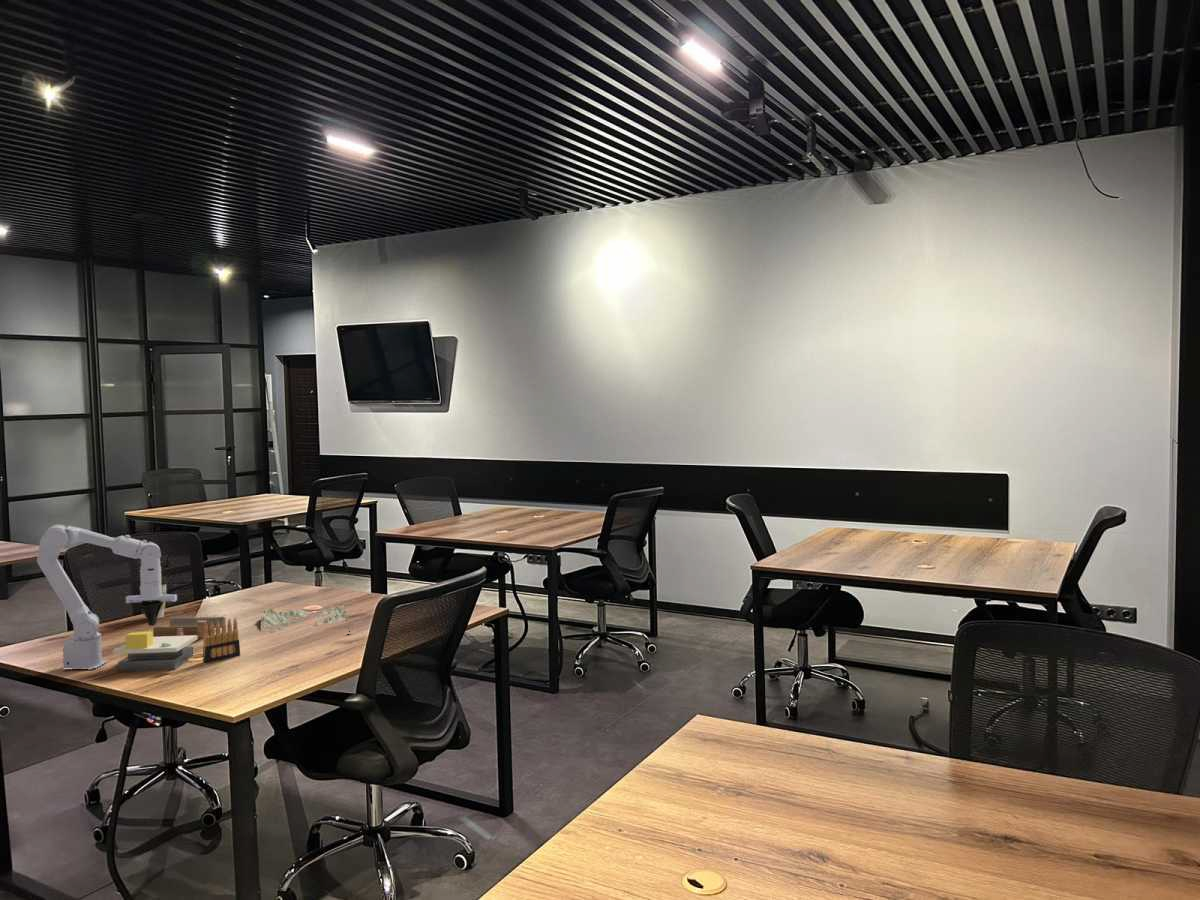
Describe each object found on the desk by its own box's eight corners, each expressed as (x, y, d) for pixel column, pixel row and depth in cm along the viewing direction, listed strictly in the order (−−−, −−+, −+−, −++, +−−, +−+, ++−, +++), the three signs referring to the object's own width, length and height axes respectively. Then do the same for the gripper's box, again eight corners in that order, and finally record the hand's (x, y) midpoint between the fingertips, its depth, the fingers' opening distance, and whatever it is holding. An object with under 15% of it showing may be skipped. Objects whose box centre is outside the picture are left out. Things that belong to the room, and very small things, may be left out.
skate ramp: (245, 624, 302) (244, 604, 301) (204, 651, 267) (203, 628, 266) (163, 626, 300) (162, 605, 300) (111, 653, 265) (110, 630, 265)
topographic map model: (351, 636, 284) (350, 622, 284) (258, 646, 274) (258, 631, 273) (344, 613, 317) (344, 600, 317) (261, 621, 307) (261, 607, 307)
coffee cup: (174, 615, 314) (173, 576, 314) (158, 621, 304) (156, 581, 304) (150, 615, 315) (149, 576, 315) (133, 621, 306) (131, 581, 305)
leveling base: (118, 671, 244) (118, 655, 244) (140, 658, 258) (139, 642, 258) (175, 669, 246) (174, 653, 246) (193, 656, 260) (192, 640, 260)
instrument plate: (112, 654, 243) (112, 636, 243) (137, 641, 259) (137, 624, 259) (176, 651, 245) (176, 634, 245) (197, 639, 261) (197, 622, 261)
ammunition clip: (205, 663, 252) (204, 624, 252) (202, 662, 254) (201, 623, 253) (240, 655, 260) (239, 618, 260) (238, 654, 261) (236, 617, 261)
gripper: (180, 578, 262) (181, 620, 263) (132, 579, 261) (133, 622, 261) (171, 583, 255) (172, 626, 256) (121, 584, 254) (123, 628, 254)
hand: (152, 624), depth 258 cm, fingers closed
